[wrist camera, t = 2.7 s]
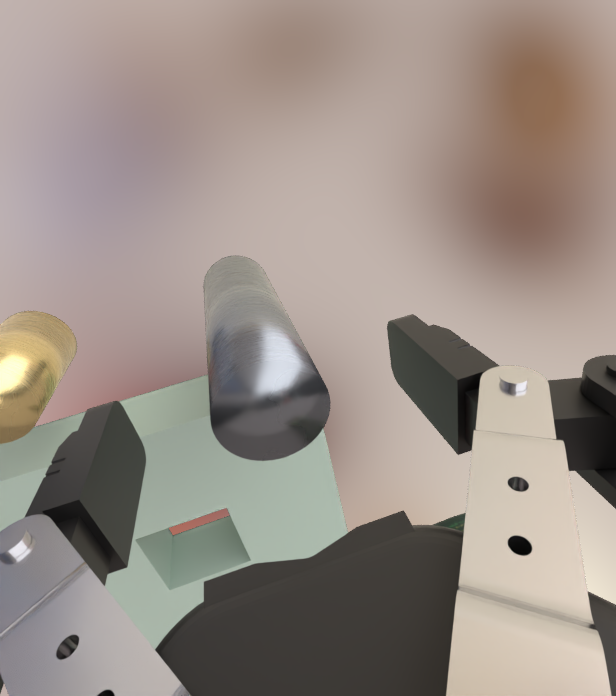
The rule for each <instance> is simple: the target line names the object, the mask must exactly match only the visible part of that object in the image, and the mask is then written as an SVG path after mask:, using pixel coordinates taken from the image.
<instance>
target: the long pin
mask: <svg viewBox="0 0 616 696" xmlns="http://www.w3.org/2000/svg"><path fill="white" fill-rule="evenodd" d="M204 303H205V323H206V344H207V363H208V383H209V403H210V421H211V427H212V430H213V433H214V435H215V437H216V439H217V440H218V442H219V443H220V444H221V445H222V446H223V447H224V448H225V449H226V450H228V451H229V452H230V453H232V454H234V455H236V456H239V457H241V458H244V459H248V460H255V461H269V460H276V459H281V458H284V457H287V456H290V455H292V454H294V453H296V452H298V451H300V450H302V449H303V448H305V447H306V446H307V445H309V444H310V443H311V442H312V441H313V440H314V439H315V438H316V437H317V436H318V435H319V434H320V432H321V431H322V429H323V428H324V426H325V424H326V421H327V419H328V416H329V411H330V397H329V393H328V389H327V388H326V385H325V383H324V382H323V380H322V378H321V376H320V374H319V372H318V370H317V369H316V367H315V365H314V363H313V361H312V359H311V358H310V356H309V354H308V352H307V350H306V348H305V346H304V344H303V343H302V341H301V339H300V337H299V335H298V333H297V331H296V329H295V328H294V326H293V324H292V322H291V320H290V318H289V316H288V314H287V313H286V311H285V309H284V307H283V305H282V303H281V301H280V300H279V298H278V296H277V294H276V292H275V290H274V288H273V287H272V285H271V283H270V281H269V279H268V277H267V275H266V273H265V272H264V270H263V269H262V267H260V265H259V264H257V263H256V262H255V261H253V260H252V259H250V258H247V257H243V256H229V257H225V258H223V259H221V260H219V261H218V262H216V263H215V264H213V265H212V266H211V268H210V269H209V271H208V272H207V274H206V276H205V280H204Z"/></svg>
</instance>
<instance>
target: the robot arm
mask: <svg viewBox="0 0 616 696" xmlns="http://www.w3.org/2000/svg"><path fill="white" fill-rule="evenodd" d="M387 330H388V339H389V349H390V357H391V367H392V371H393V374H394V377H395V379H396V381H397V382H398V384H399V385H400V387H401V388H402V389H403V390H404V391H405V392H406V394H407V395H408V396H409V397H410V398H411V400H412V401H413V402H414V403H415V404H416V405H417V407H418V408H419V409H420V410H421V411H422V413H423V414H424V415H425V416H426V417H427V419H428V420H429V421H430V422H431V423H432V424H433V426H434V427H435V428H436V429H437V430H438V431H439V433H440V434H441V435H442V436H443V437H444V439H445V440H446V441H447V442H448V443H449V445H450V446H451V447H452V448H453V449H454V451H455V452H456V453H457V454H458V455H459V454H462V453H465V452H468V451H471V450H472V454H471V464H470V474H469V485H468V495H467V505H466V515H465V526H464V532H462V531H459V530H455V529H451V528H447V527H442V526H434V525H413V526H412V525H411V523H410V521H409V519H408V517H407V516H406V514H405V512H404V511H401V512H398V513H396V514H392V515H390V516H387V517H384V518H381V519H378V520H375V521H373V522H370V523H367V524H364V525H361V526H359V527H356V528H355V529H353V530H352V531H350V532H349V533H347V534H346V535H344V536H343V537H341V538H340V539H338V540H337V541H335V542H334V543H332V544H331V545H329V546H327V547H326V548H324V549H323V550H321V551H320V552H318V553H317V554H315V555H314V556H312V557H309V558H304V559H294V560H284V561H274V562H264V563H255V564H252V565H249V566H247V567H244V568H241V569H238V570H235V571H232V572H230V573H227V574H224V575H221V576H218V577H216V578H213V579H210V580H207V581H204V601H203V602H202V603H200V604H199V605H197V606H196V607H195V608H194V609H192V610H191V611H190V612H189V613H187V614H186V615H185V616H184V617H183V618H182V619H181V620H180V621H179V622H178V623H177V624H176V625H175V626H174V627H173V628H172V629H171V630H170V631H169V632H168V634H167V635H166V636H165V637H164V638H163V639H162V641H161V642H160V643H159V645H158V646H157V647H156V649H154V648H153V647H152V646H151V644H150V643H149V642H148V641H147V639H146V638H145V637H144V635H143V634H142V633H141V632H140V630H139V629H138V628H137V627H136V625H135V624H134V623H133V622H132V620H131V619H130V618H129V617H128V615H127V614H126V613H125V612H124V610H123V609H122V608H121V606H120V605H119V604H118V603H117V601H116V600H115V599H114V598H113V596H112V595H111V594H110V593H109V591H108V590H107V589H106V588H105V584H106V579H107V575H108V574H110V573H113V572H116V571H119V570H121V569H124V568H127V567H128V561H129V556H130V550H131V545H132V539H133V533H134V528H135V522H136V517H137V511H138V505H139V500H140V494H141V489H142V483H143V477H144V472H145V466H146V453H145V449H144V446H143V443H142V441H141V439H140V437H139V435H138V433H137V432H136V430H135V428H134V426H133V424H132V422H131V420H130V419H129V417H128V415H127V413H126V411H125V409H124V407H123V406H122V404H121V403H120V402H118V401H114V402H110V403H107V404H103V405H100V406H97V407H93V408H90V409H88V410H87V411H86V413H85V415H84V417H83V420H82V422H81V424H80V426H79V429H78V431H74V432H72V433H71V434H70V435H69V436H68V437H67V438H66V440H65V441H64V442H63V443H62V444H61V445H60V446H59V447H58V449H57V451H56V453H55V455H54V457H53V459H52V461H51V463H52V464H51V465H50V466H49V468H48V470H47V472H46V474H45V475H46V477H44V478H43V480H42V482H41V484H40V486H39V488H38V490H37V492H36V494H35V497H34V499H33V501H32V503H31V505H30V507H29V509H28V511H27V513H26V515H25V517H24V518H23V519H20V520H18V521H16V522H14V523H13V524H11V525H9V526H8V527H6V528H5V529H3V530H2V531H1V532H0V693H1V690H2V687H3V684H5V687H6V689H7V692H8V694H9V696H616V605H615V604H613V603H611V602H609V601H607V600H604V599H603V598H600V597H598V596H596V595H594V594H592V593H590V592H588V591H587V584H586V578H585V572H584V566H583V559H582V553H581V547H580V540H579V534H578V527H577V520H576V515H575V508H574V501H573V495H572V489H571V482H570V476H569V471H576V472H577V473H578V474H579V475H580V476H581V477H582V478H584V479H585V480H586V481H587V482H588V483H589V484H590V485H591V486H592V487H593V488H594V489H595V490H596V491H597V492H599V494H601V495H602V496H603V497H604V498H605V499H606V500H607V501H608V502H609V503H610V504H611V505H612V506H613V507H614V508H616V355H606V356H599V357H595V358H592V359H590V360H588V361H587V362H586V363H585V365H584V368H583V374H582V378H572V379H561V380H549V381H547V379H546V378H545V377H544V376H543V375H542V374H540V373H539V372H537V371H535V370H532V369H529V368H526V367H522V366H514V365H506V366H499V365H498V364H496V363H495V362H494V361H492V360H491V359H489V358H488V357H487V356H485V355H484V354H482V353H481V352H480V351H478V350H477V349H476V348H474V347H473V346H470V344H469V343H467V342H466V341H464V340H463V339H461V338H460V337H459V336H458V335H456V334H455V333H453V332H452V331H451V330H449V329H446V328H442V327H440V326H436V325H431V326H428V325H427V324H425V323H424V322H423V321H421V320H420V319H419V318H418V317H416V316H415V315H413V314H412V315H408V316H405V317H402V318H398V319H395V320H391V321H389V322H388V326H387Z"/></svg>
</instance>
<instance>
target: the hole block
mask: <svg viewBox="0 0 616 696" xmlns="http://www.w3.org/2000/svg"><path fill="white" fill-rule="evenodd" d="M119 402H120V403H121V404H122V406H123V407H124V409H125V411H126V413H127V415H128V417H129V419H130V420H131V422H132V424H133V426H134V428H135V430H136V432H137V433H138V435H139V437H140V439H141V441H142V443H143V446H144V449H145V453H146V466H145V472H144V477H143V483H142V489H141V494H140V500H139V505H138V511H137V517H136V522H135V528H134V533H133V539H132V545H131V550H130V556H129V561H128V567H127V568H124V569H121V570H119V571H116V572H113V573H110V574H108V575H107V579H106V584H105V588H106V589H107V590H108V591H109V593H110V594H111V595H112V596H113V598H114V599H115V600H116V601H117V603H118V604H119V605H120V606H121V608H122V609H123V610H124V612H125V613H126V614H127V615H128V617H129V618H130V619H131V620H132V622H133V623H134V624H135V625H136V627H137V628H138V629H139V630H140V632H141V633H142V634H143V635H144V637H145V638H146V639H147V641H148V642H149V643H150V644H151V646H152V647H153V648H154V649H156V647H157V646H158V645H159V643H160V642H161V641H162V639H163V638H164V637H165V636H166V635H167V634H168V632H169V631H170V630H171V629H172V628H173V627H174V626H175V625H176V624H177V623H178V622H179V621H180V620H181V619H182V618H183V617H184V616H185V615H186V614H187V613H189V612H190V611H191V610H192V609H194V608H195V607H196V606H197V605H199V604H200V603H202V602H203V601H204V581H207V580H210V579H213V578H216V577H218V576H221V575H224V574H227V573H230V572H232V571H235V570H238V569H241V568H244V567H247V566H249V565H252V564H255V563H264V562H274V561H284V560H294V559H304V558H309V557H312V556H314V555H315V554H317V553H318V552H320V551H321V550H323V549H324V548H326V547H327V546H329V545H331V544H332V543H334V542H335V541H337V540H338V539H340V538H341V537H343V536H344V535H346V534H347V533H348V531H347V526H346V522H345V519H344V514H343V510H342V505H341V501H340V497H339V493H338V488H337V484H336V480H335V476H334V471H333V467H332V463H331V458H330V454H329V450H328V446H327V441H326V437H325V433H324V429H322V431H321V432H320V434H319V435H318V436H317V437H316V438H315V439H314V440H313V441H312V442H311V443H310V444H309V445H307V446H306V447H305V448H303V449H302V450H300V451H298V452H296V453H294V454H292V455H290V456H287V457H284V458H281V459H276V460H269V461H255V460H248V459H244V458H241V457H239V456H236V455H234V454H232V453H230V452H229V451H228V450H226V449H225V448H224V447H223V446H222V445H221V444H220V443H219V442H218V440H217V439H216V437H215V435H214V433H213V430H212V427H211V421H210V403H209V383H208V375H204V376H201V377H198V378H194V379H191V380H188V381H184V382H181V383H178V384H175V385H171V386H168V387H165V388H162V389H158V390H155V391H152V392H148V393H145V394H142V395H139V396H135V397H132V398H129V399H125V400H122V401H119ZM85 413H86V412H82V413H79V414H76V415H72V416H69V417H66V418H63V419H59V420H56V421H53V422H50V423H46V424H43V425H40V426H36V427H33V429H32V430H31V431H30V432H29V433H28V434H26V435H25V436H23V437H22V438H20V439H18V440H15V441H12V442H8V443H3V444H0V532H1V531H2V530H3V529H5V528H6V527H8V526H9V525H11V524H13V523H14V522H16V521H18V520H20V519H23V518H24V517H25V515H26V513H27V511H28V509H29V507H30V505H31V503H32V501H33V499H34V497H35V494H36V492H37V490H38V488H39V486H40V484H41V482H42V480H43V478H44V477H46V475H45V474H46V472H47V470H48V468H49V466H50V465H51V464H52V463H51V461H52V459H53V457H54V455H55V453H56V451H57V449H58V447H59V446H60V445H61V444H62V443H63V442H64V441H65V440H66V438H67V437H68V436H69V435H70V434H71V433H72V432H74V431H78V429H79V426H80V424H81V422H82V420H83V417H84V415H85ZM224 508H227V510H228V512H229V514H230V516H227V517H224V518H222V519H218V520H216V521H213V522H210V523H207V524H204V525H201V526H198V527H196V528H193V529H190V530H187V531H184V532H181V533H179V534H176V535H172V533H171V532H170V530H169V527H173V526H175V525H178V524H181V523H184V522H187V521H190V520H193V519H196V518H198V517H201V516H204V515H207V514H210V513H213V512H216V511H219V510H222V509H224Z"/></svg>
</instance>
